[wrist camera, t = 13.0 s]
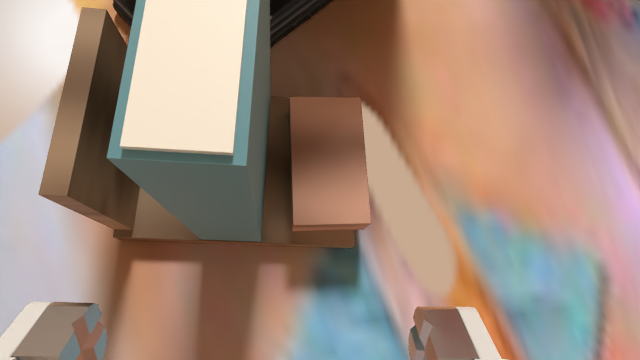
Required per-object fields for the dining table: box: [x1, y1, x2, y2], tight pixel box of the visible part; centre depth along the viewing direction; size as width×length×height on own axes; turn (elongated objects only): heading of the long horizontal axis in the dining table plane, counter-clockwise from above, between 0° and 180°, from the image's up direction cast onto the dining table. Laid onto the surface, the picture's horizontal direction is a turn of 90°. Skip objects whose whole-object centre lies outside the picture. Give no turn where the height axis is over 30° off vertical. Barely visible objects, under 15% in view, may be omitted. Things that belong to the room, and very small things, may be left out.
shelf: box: [39, 7, 371, 248], centre depth 25 cm, size 11×17×10 cm, turn 89°
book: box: [107, 0, 271, 242], centre depth 21 cm, size 11×4×16 cm, turn 179°
